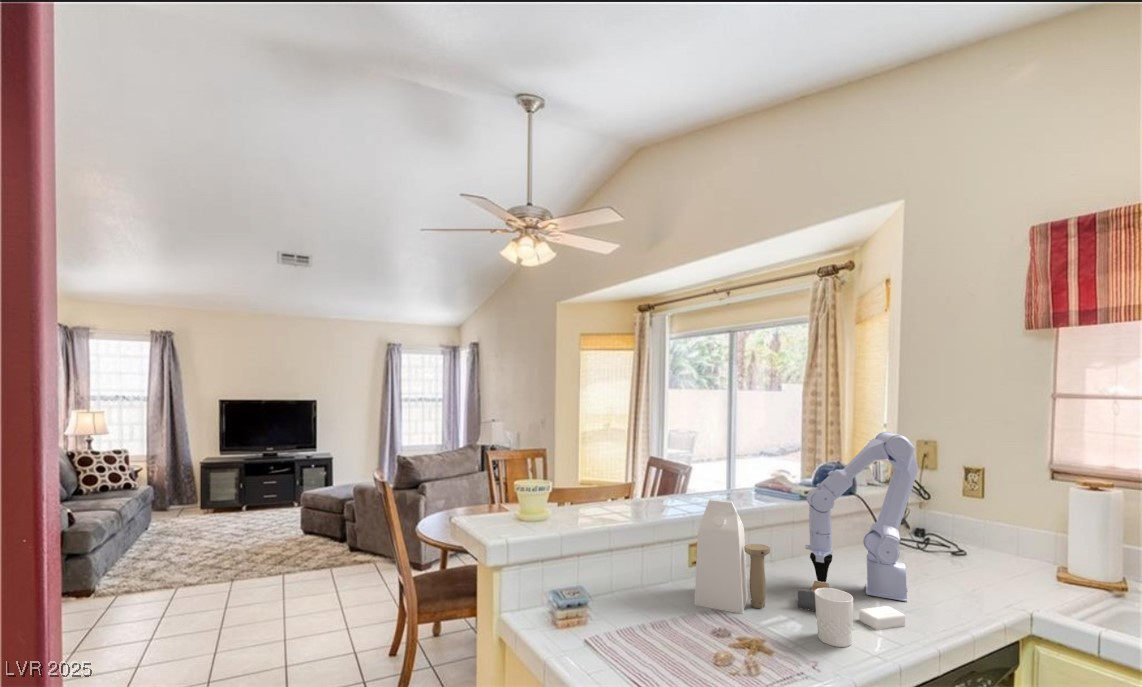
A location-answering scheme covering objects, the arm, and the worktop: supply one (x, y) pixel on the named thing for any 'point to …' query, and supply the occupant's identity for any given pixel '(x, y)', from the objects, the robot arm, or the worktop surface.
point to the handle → (757, 573)
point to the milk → (721, 559)
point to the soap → (882, 617)
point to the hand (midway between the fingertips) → (821, 581)
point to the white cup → (834, 616)
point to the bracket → (806, 599)
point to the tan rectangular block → (819, 585)
